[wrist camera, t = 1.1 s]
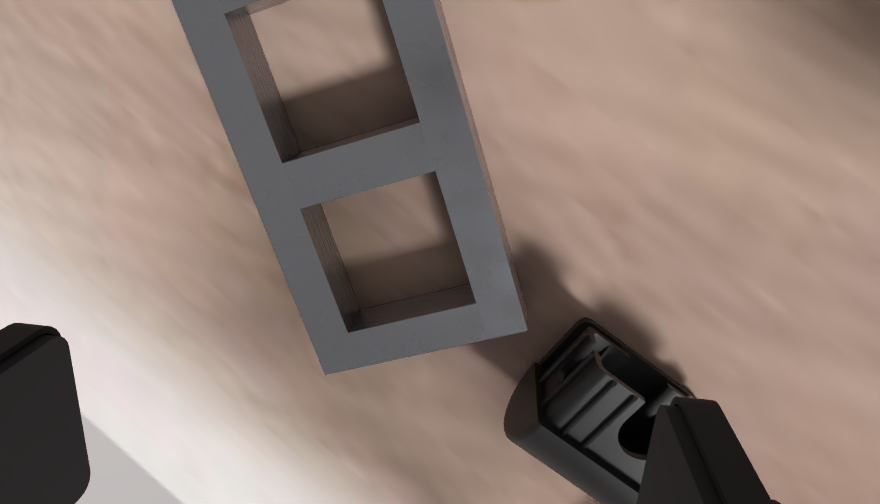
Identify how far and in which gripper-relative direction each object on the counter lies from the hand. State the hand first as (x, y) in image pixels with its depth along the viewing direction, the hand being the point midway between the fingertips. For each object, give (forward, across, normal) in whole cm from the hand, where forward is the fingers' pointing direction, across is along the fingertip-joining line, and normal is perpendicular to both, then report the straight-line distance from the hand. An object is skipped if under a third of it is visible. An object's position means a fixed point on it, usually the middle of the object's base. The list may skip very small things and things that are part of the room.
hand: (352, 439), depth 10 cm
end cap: (+26, -10, +15) cm, 31 cm away
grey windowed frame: (+25, +5, +1) cm, 26 cm away
